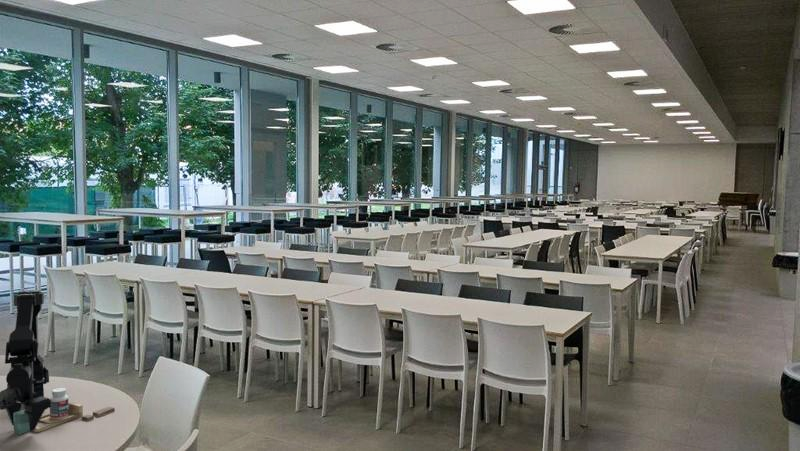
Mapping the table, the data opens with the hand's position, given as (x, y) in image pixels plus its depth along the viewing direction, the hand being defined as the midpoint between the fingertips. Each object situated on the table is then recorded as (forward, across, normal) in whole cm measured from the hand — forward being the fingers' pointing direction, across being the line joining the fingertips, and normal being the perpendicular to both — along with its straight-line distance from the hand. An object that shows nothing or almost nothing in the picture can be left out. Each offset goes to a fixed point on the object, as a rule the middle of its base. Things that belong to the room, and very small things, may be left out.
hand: (23, 427), depth 192 cm
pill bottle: (+1, 0, +12) cm, 12 cm away
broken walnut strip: (+1, +8, +20) cm, 22 cm away
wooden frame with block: (+1, 0, +7) cm, 8 cm away
